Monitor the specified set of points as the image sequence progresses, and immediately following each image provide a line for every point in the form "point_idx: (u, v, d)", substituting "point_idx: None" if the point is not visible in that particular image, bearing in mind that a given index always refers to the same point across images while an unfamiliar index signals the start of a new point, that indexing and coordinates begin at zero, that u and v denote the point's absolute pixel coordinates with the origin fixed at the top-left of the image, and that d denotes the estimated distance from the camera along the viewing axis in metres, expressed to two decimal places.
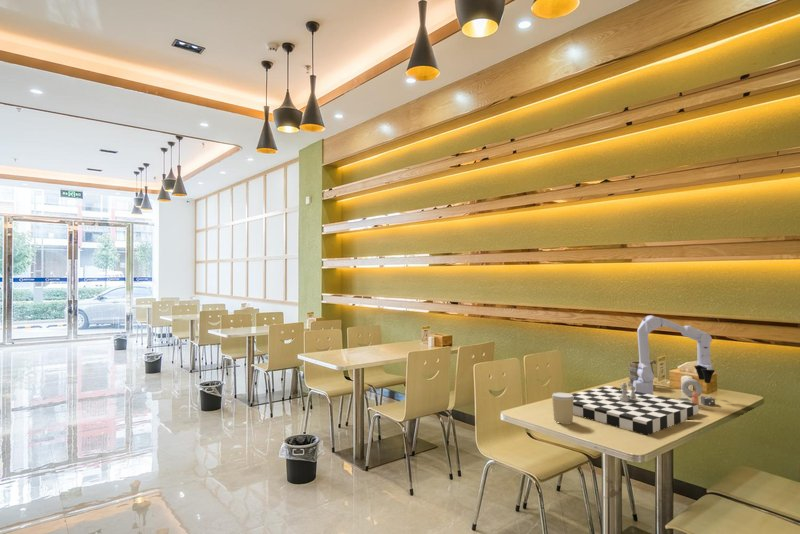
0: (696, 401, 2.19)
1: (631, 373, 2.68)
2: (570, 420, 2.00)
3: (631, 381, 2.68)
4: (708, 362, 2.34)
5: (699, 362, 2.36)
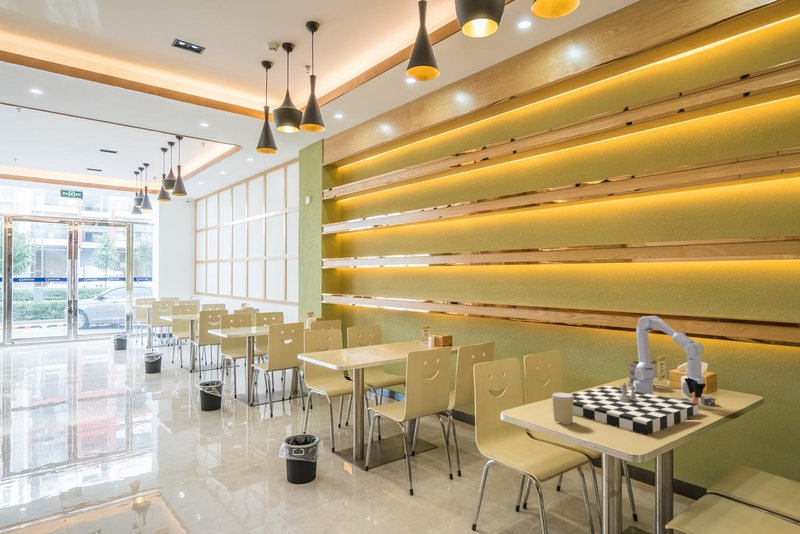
0: (696, 401, 2.19)
1: (631, 373, 2.68)
2: (570, 420, 2.00)
3: (631, 381, 2.68)
4: (699, 375, 2.17)
5: (689, 375, 2.20)
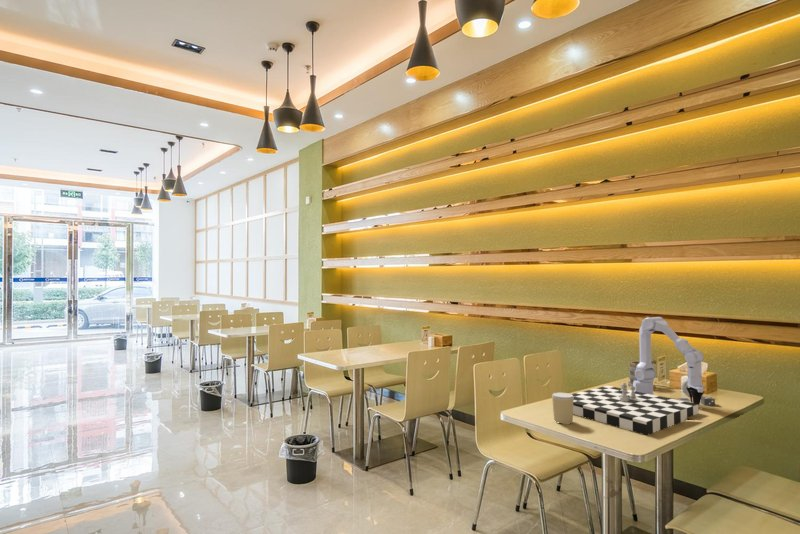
0: None
1: (631, 373, 2.68)
2: (570, 420, 2.00)
3: (631, 381, 2.68)
4: (699, 383, 2.17)
5: (689, 383, 2.20)
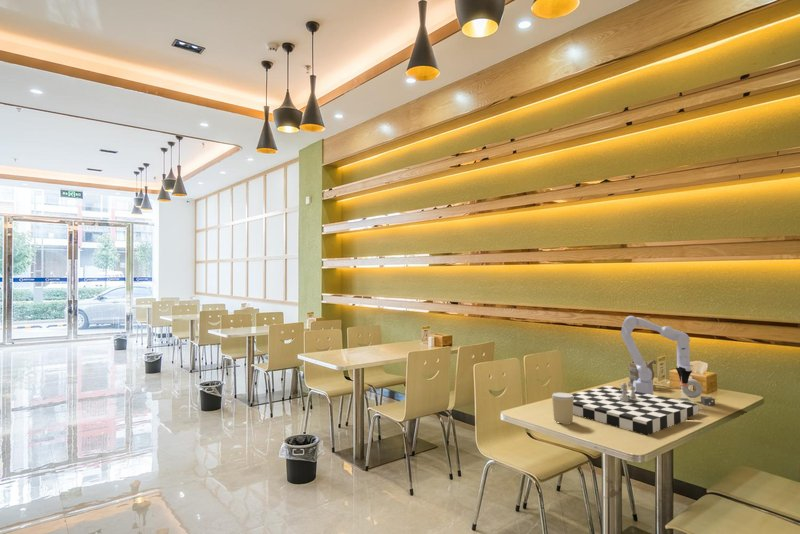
0: None
1: (631, 373, 2.68)
2: (570, 420, 2.00)
3: (631, 381, 2.68)
4: (687, 363, 2.32)
5: (678, 363, 2.34)
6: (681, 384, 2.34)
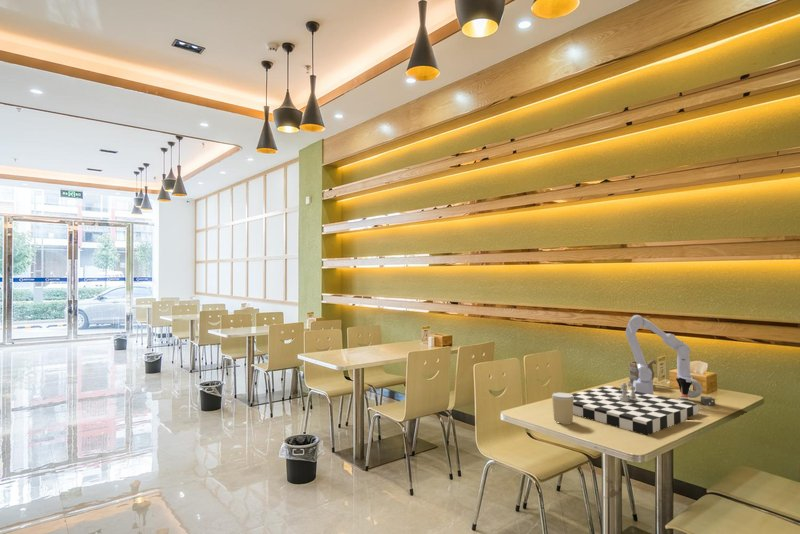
0: None
1: (631, 373, 2.68)
2: (570, 420, 2.00)
3: (631, 381, 2.68)
4: (688, 374, 2.32)
5: (679, 374, 2.34)
6: (681, 395, 2.34)
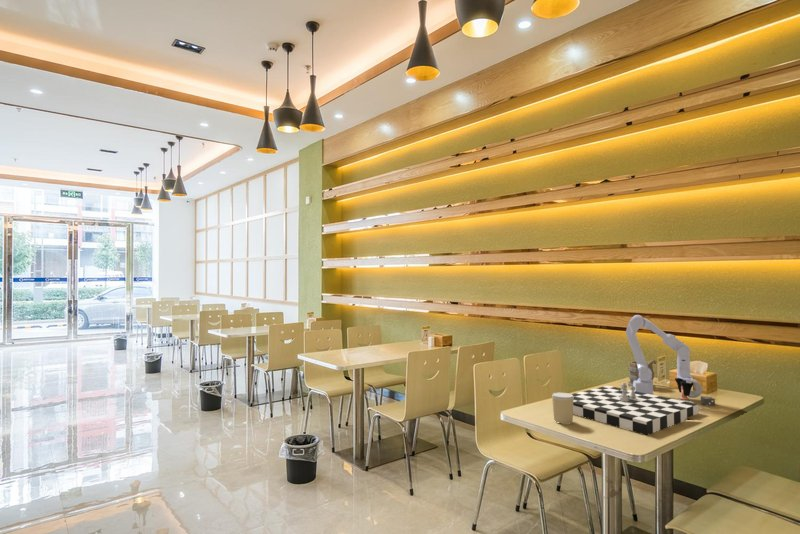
0: None
1: (631, 373, 2.68)
2: (570, 420, 2.00)
3: (631, 381, 2.68)
4: (688, 375, 2.32)
5: (679, 375, 2.34)
6: (681, 398, 2.34)
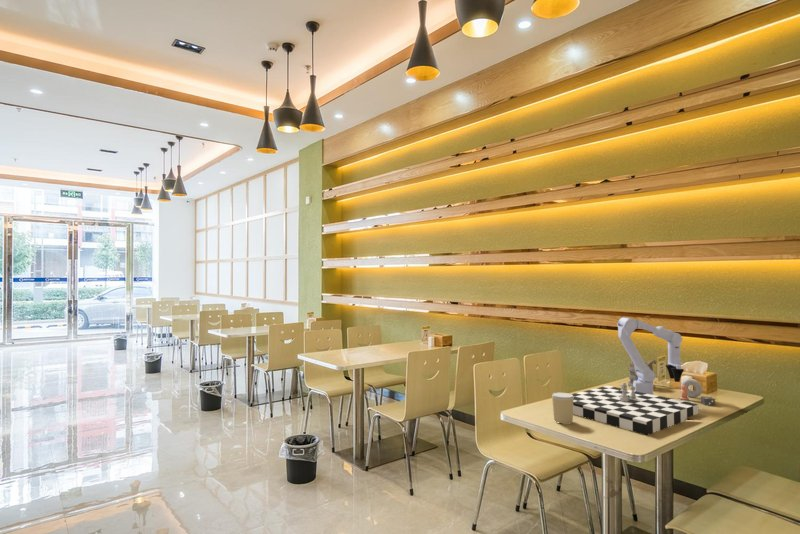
0: (685, 393, 2.33)
1: (631, 373, 2.68)
2: (570, 420, 2.00)
3: (631, 381, 2.68)
4: (678, 361, 2.40)
5: (669, 361, 2.42)
6: (681, 398, 2.34)
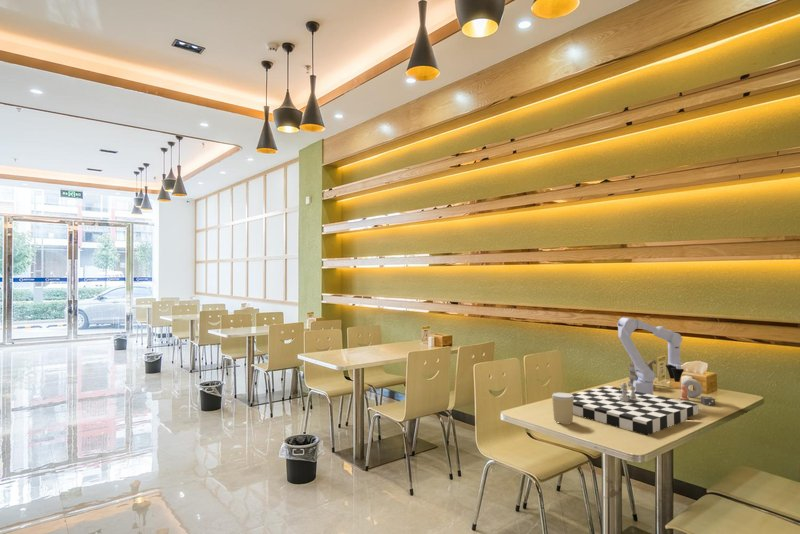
0: (685, 393, 2.33)
1: (631, 373, 2.68)
2: (570, 420, 2.00)
3: (631, 381, 2.68)
4: (678, 361, 2.40)
5: (669, 361, 2.42)
6: (681, 398, 2.34)
